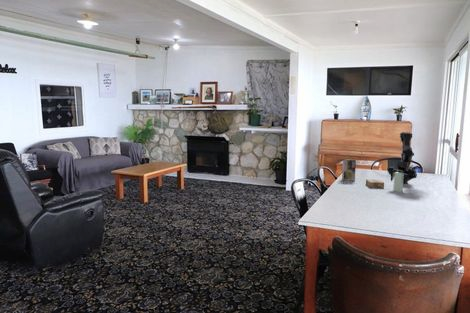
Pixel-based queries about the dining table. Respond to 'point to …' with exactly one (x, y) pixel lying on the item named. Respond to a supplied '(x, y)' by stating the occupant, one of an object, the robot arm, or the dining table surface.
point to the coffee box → (348, 169)
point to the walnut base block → (374, 183)
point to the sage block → (398, 181)
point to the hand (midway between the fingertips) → (397, 181)
